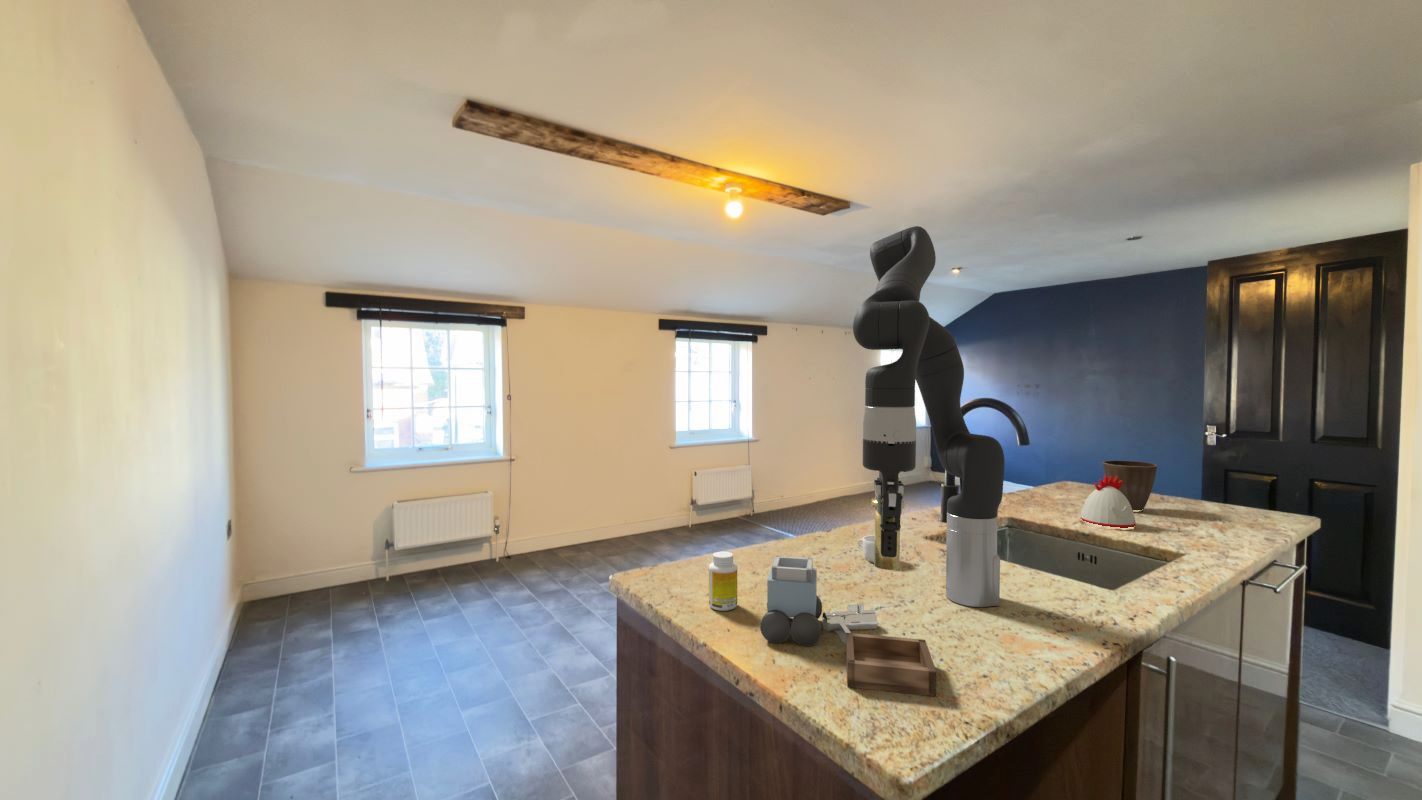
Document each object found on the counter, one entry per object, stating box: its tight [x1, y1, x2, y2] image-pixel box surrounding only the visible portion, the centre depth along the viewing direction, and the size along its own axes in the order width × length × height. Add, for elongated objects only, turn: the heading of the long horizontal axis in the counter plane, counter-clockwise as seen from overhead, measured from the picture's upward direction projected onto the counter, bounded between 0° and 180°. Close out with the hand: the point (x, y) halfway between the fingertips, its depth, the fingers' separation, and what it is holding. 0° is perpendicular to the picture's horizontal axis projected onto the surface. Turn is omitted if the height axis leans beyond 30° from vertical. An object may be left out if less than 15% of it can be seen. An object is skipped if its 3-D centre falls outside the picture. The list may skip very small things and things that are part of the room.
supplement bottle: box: [708, 551, 738, 612], centre depth 110 cm, size 6×6×10 cm
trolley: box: [759, 555, 823, 647], centre depth 100 cm, size 10×11×12 cm
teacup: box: [857, 534, 875, 564], centre depth 139 cm, size 10×8×5 cm
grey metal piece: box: [821, 602, 878, 646], centre depth 98 cm, size 10×4×9 cm
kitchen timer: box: [1079, 475, 1137, 528], centre depth 174 cm, size 14×14×15 cm
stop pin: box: [871, 497, 905, 571], centre depth 85 cm, size 5×5×10 cm
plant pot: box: [1102, 460, 1158, 510], centre depth 193 cm, size 15×15×16 cm
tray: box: [845, 632, 937, 697], centre depth 85 cm, size 12×10×4 cm
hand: (887, 551), depth 85 cm, fingers closed on stop pin, 3 cm apart
